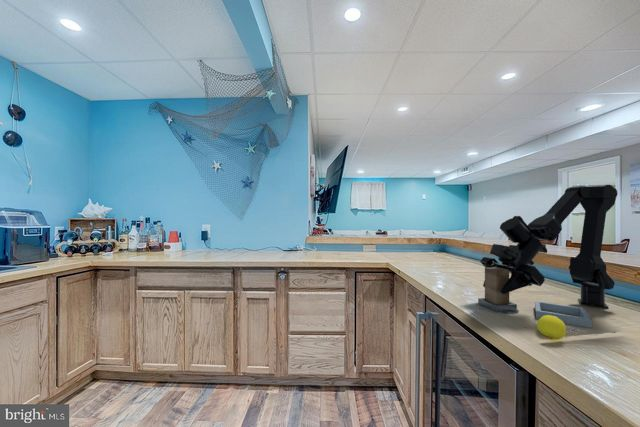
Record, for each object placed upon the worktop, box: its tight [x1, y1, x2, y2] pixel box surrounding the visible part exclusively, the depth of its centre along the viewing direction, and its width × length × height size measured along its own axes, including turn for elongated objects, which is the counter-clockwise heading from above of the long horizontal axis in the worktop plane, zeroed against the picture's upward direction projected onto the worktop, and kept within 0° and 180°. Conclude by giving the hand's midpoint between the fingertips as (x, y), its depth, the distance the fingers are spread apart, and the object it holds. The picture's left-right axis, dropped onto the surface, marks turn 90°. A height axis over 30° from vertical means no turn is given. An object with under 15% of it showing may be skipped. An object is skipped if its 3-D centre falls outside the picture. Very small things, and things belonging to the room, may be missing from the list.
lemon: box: [536, 315, 567, 340], centre depth 66 cm, size 7×5×5 cm
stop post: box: [484, 267, 510, 305], centre depth 85 cm, size 4×4×12 cm
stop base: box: [476, 297, 520, 315], centre depth 85 cm, size 11×11×3 cm
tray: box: [534, 300, 593, 329], centre depth 78 cm, size 11×11×3 cm
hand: (492, 289), depth 85 cm, fingers open, 7 cm apart
